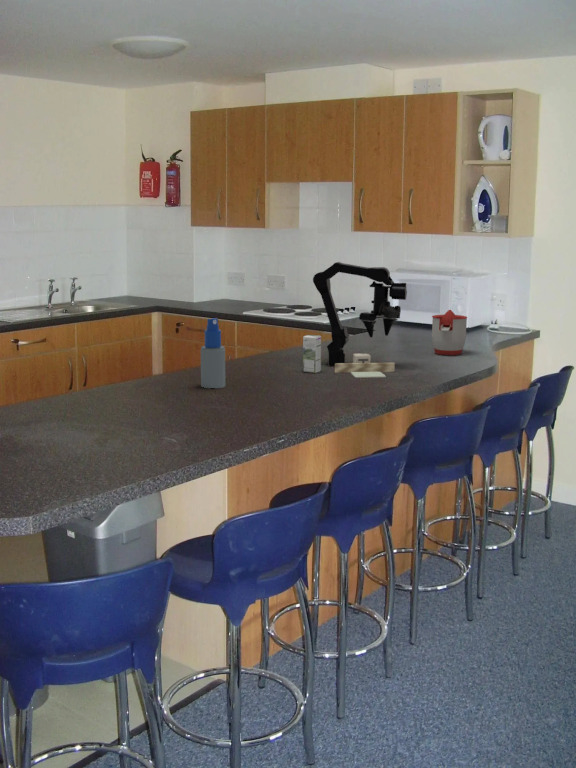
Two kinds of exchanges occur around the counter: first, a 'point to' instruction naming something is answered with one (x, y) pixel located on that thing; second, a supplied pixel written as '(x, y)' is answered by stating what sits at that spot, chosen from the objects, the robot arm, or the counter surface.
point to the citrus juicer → (449, 333)
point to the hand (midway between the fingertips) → (378, 336)
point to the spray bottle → (212, 357)
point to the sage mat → (367, 374)
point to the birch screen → (364, 367)
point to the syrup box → (311, 353)
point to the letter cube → (361, 358)
